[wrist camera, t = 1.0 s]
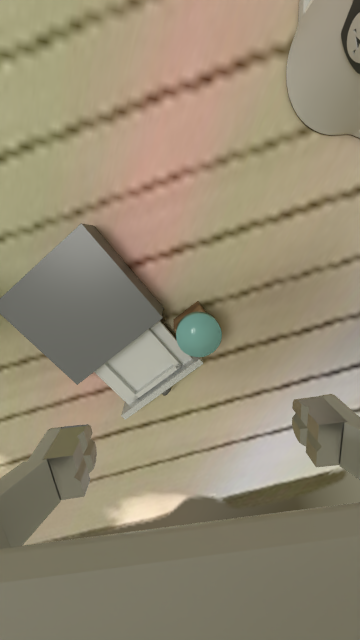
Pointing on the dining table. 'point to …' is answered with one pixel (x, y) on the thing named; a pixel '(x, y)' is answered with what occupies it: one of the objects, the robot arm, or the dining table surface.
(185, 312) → the brown wooden cube
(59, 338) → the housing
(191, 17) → the dining table surface
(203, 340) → the teal flat dome
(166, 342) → the light grey drawer
